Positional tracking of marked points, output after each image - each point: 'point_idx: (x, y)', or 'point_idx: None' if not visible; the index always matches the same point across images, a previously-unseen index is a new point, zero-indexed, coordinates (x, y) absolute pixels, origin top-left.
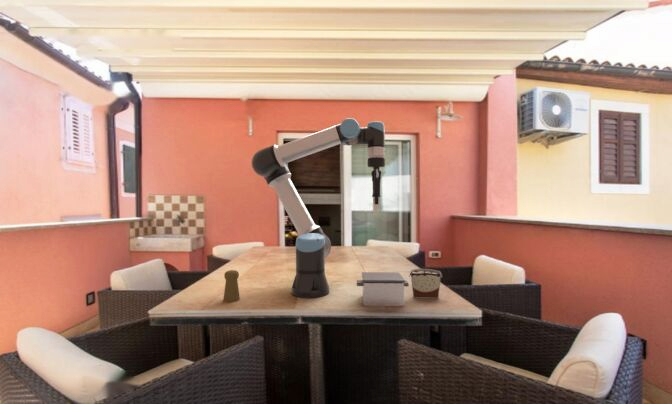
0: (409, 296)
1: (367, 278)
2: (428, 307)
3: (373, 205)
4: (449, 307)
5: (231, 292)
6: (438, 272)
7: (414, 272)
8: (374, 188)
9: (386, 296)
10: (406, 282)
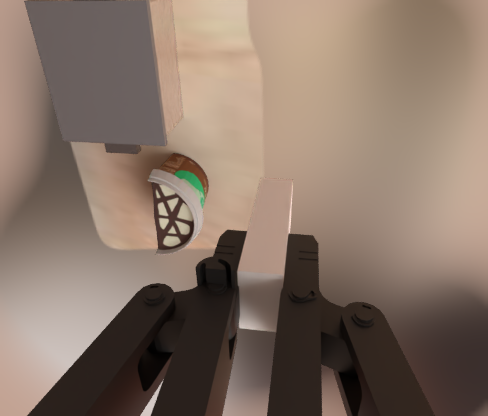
0: (184, 145)
1: (51, 20)
2: (104, 167)
3: (252, 211)
4: (115, 209)
5: None
6: (169, 250)
7: (170, 191)
8: (82, 356)
9: None
10: (113, 148)
